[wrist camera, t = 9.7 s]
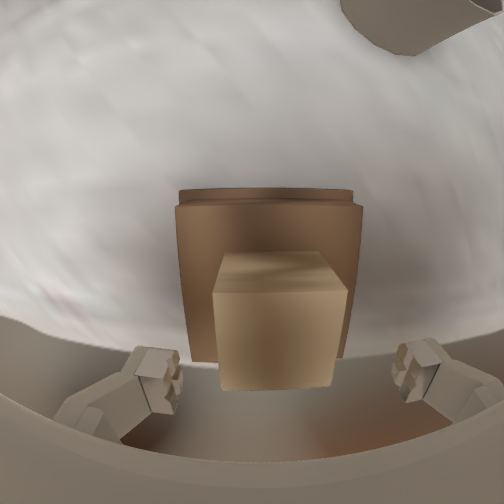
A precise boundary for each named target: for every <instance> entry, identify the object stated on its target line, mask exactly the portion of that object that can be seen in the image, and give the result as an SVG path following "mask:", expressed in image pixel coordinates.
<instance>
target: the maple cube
mask: <svg viewBox="0 0 504 504" xmlns="http://www.w3.org/2000/svg"><path fill="white" fill-rule="evenodd" d="M212 294H213V307H214V319H215V331H216V342H217V352H218V362H219V372H220V381H221V390H239V391H243V390H244V391H248V390H249V391H257V390H287V389H302V388H314V387H325V386H330V385H331V381H332V376H333V372H334V367H335V362H336V358H337V353H338V348H339V342H340V337H341V332H342V326H343V320H344V314H345V307H346V301H347V294H348V290H347V288H346V287H345V285H344V284H343V283H342V281H341V280H340V279H339V277H338V276H337V275H336V273H335V272H334V271H333V270H332V268H331V267H330V266H329V264H328V263H327V262H326V260H325V259H324V258H323V256H322V255H321V254H320V253H319V251H271V252H225V253H224V256H223V260H222V263H221V266H220V269H219V273H218V276H217V279H216V283H215V286H214V289H213V293H212Z"/></svg>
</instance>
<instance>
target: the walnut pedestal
mask: <svg viewBox="0 0 504 504" xmlns="http://www.w3.org/2000/svg"><path fill="white" fill-rule="evenodd" d="M362 217H363V207H362V206H360V205H357V204H355V203H353V191H351V190H339V189H314V188H217V189H191V190H180V191H179V205H177V206H175V218H176V233H177V246H178V257H179V267H180V277H181V286H182V295H183V303H184V311H185V318H186V325H187V332H188V339H189V345H190V352H191V358H192V362H212V363H219V362H218V352H217V342H216V331H215V319H214V307H213V294H212V293H213V289H214V286H215V283H216V279H217V276H218V273H219V269H220V266H221V263H222V260H223V256H224V253H225V252H271V251H319V253H320V254H321V255H322V256H323V258H324V259H325V260H326V262H327V263H328V264H329V266H330V267H331V268H332V270H333V271H334V272H335V273H336V275H337V276H338V277H339V279H340V280H341V281H342V283H343V284H344V285H345V287H346V288H347V290H348V294H347V301H346V307H345V314H344V320H343V326H342V332H341V337H340V342H339V348H338V353H337V358H342V357H343V352H344V348H345V343H346V338H347V333H348V327H349V322H350V316H351V310H352V304H353V298H354V291H355V284H356V277H357V269H358V260H359V251H360V241H361V230H362ZM337 358H336V359H337Z"/></svg>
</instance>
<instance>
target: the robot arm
mask: <svg viewBox="0 0 504 504" xmlns="http://www.w3.org/2000/svg"><path fill="white" fill-rule="evenodd" d="M397 354H398V357H397V359H395V360H394V362H393V365H392V368H391V369H392V370H391V371H392V372H391V375H392V379H393V381H394V383H395V384H396V385H398V386H399V387H400V389H399V393H400V395H401V396H402V398H403V400H404V402H405V403H407V402H412V401H416V400H420V399H423V401H425V402H426V403H427V404H429V405H430V406H432V407H433V408H434V409H436V410H437V411H438V412H440V413H441V414H443V415H444V416H445V417H447V418H448V419H449V420H451V421H452V422H454V423H453V424H452V425H451V426H448V427H446V428H443V429H441V430H438V431H436V432H433V433H430V434H427V435H425V436H421V437H418V438H415V439H412V440H409V441H405V442H402V443H398V444H395V445H391V446H387V447H383V448H379V449H375V450H370V451H366V452H361V453H356V454H350V455H344V456H338V457H332V458H324V459H315V460H305V461H291V462H265V463H263V462H262V463H261V462H257V463H255V462H226V461H212V460H202V459H193V458H185V457H178V456H172V455H166V454H161V453H155V452H151V451H146V450H141V449H137V448H133V447H129V446H125V445H122V443H121V441H120V440H119V439H120V438H122V437H123V436H124V435H125V434H127V433H128V432H129V431H130V430H131V429H133V428H134V427H135V426H136V425H137V424H139V423H140V422H141V421H142V420H143V419H145V418H146V417H147V416H148V415H149V414H151V412H157V413H165V414H174V412H175V409H176V406H177V403H178V400H177V396H176V395H178V394H179V393H180V392H181V389H182V384H183V373H182V368H181V367H180V366H179V365H178V363H179V360H180V358H179V354H178V351H176V350H170V349H162V348H154V347H145V346H137V347H135V349H134V350H133V352H132V354H131V356H130V357H129V359H128V360H127V362H126V364H125V366H124V367H123V369H122V371H121V372H120V373H115V374H113V375H111V376H109V377H107V378H105V379H103V380H101V381H99V382H97V383H95V384H93V385H91V386H89V387H87V388H86V389H84V390H82V391H80V392H78V393H76V394H74V395H72V396H70V397H68V398H67V399H66V400H65V402H64V403H63V405H62V406H61V408H60V409H59V411H58V413H57V414H56V415H55V417H54V418H53V420H51V419H48V418H46V417H44V416H42V415H40V414H38V413H35V412H33V411H31V410H29V409H27V408H26V407H24V406H22V405H20V404H18V403H16V402H14V401H13V400H11V399H9V398H7V397H6V396H4V395H2V394H1V393H0V504H504V386H503V384H502V383H501V382H500V381H499V379H498V378H496V377H494V376H491V375H489V374H487V373H484V372H482V371H480V370H478V369H475V368H473V367H471V366H469V365H466V364H464V363H462V362H460V361H457V360H452V359H451V357H450V356H449V355H448V354H447V353H446V352H445V350H444V349H443V348H442V347H441V346H440V344H439V343H438V342H437V341H436V340H435V339H434V338H429V339H424V340H420V341H414V342H408V343H402V344H400V346H399V347H398V350H397Z"/></svg>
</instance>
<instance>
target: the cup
mask: <svg viewBox="0 0 504 504" xmlns="http://www.w3.org/2000/svg"><path fill="white" fill-rule="evenodd" d="M340 2H341V8H342V12H343V13H344V14H345V16H346V17H347V18H348V20H349V21H350V23H351V24H352V26H353V27H354V28H355V29H356V30H357V31H358V32H359V33H361V34H362V35H363V36H364V37H366V38H367V39H368V40H369V41H371V42H372V43H373V44H374V45H376V46H378V47H381V48H383V49H385V50H387V51H389V52H391V53H393V54H396V55H407V56H415V55H417V54H419V53H421V52H423V51H425V50H426V49H428V48H430V47H432V46H434V45H435V44H437V43H439V42H441V41H443V40H445V39H447V38H449V37H451V36H453V35H455V34H457V33H459V32H461V31H463V30H465V29H467V28H469V27H471V26H473V25H475V24H477V23H479V22H482V21H484V20H486V19H488V18H491V17H493V16H495V15H498V14H500V13H503V12H504V9H503V0H340Z"/></svg>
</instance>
